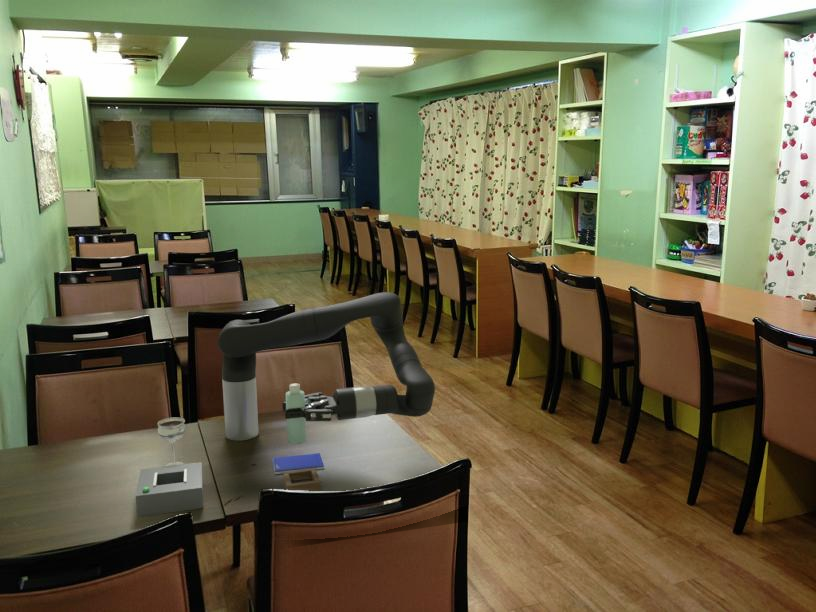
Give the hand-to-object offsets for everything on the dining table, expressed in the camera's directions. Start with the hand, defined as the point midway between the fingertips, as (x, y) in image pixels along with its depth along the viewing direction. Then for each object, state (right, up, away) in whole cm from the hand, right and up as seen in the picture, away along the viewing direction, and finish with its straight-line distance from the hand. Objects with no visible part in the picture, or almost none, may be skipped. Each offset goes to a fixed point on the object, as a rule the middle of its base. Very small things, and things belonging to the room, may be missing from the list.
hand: (284, 410), depth 162 cm
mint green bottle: (+3, -8, +2) cm, 8 cm away
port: (-26, -20, -1) cm, 33 cm away
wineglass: (-31, -17, +15) cm, 39 cm away
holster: (+3, -19, +5) cm, 20 cm away
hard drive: (+1, -17, +16) cm, 24 cm away
